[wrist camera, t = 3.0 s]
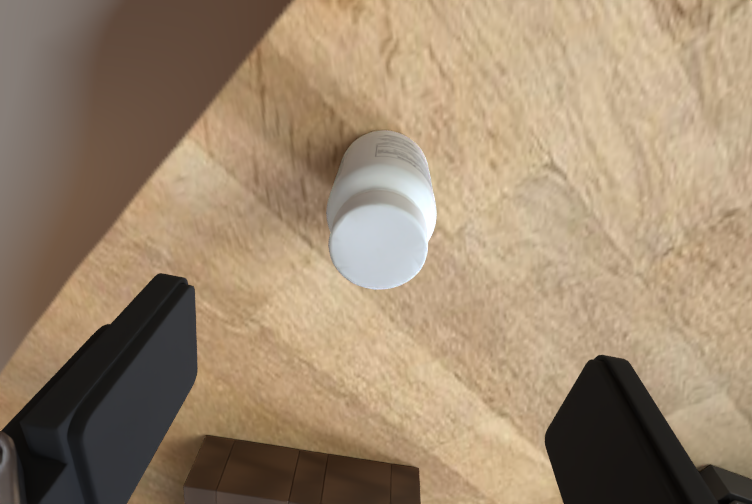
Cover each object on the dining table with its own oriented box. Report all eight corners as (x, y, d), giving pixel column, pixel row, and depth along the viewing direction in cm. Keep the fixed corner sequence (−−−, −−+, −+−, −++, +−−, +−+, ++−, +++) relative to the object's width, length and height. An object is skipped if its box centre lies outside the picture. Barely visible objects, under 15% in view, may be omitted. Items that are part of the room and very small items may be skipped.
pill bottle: (366, 225, 23) (354, 317, 16) (324, 154, 21) (289, 224, 14) (442, 191, 22) (463, 274, 15) (404, 111, 20) (408, 166, 13)
